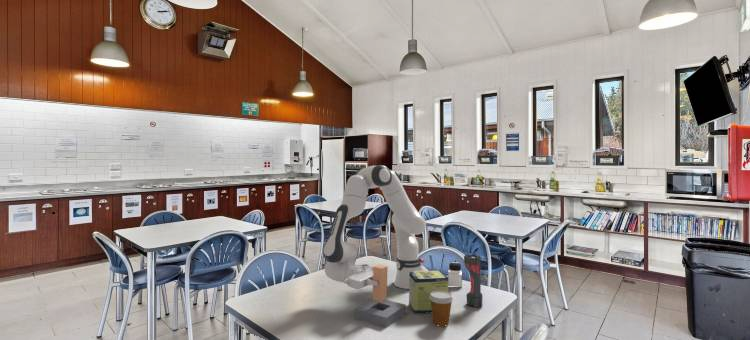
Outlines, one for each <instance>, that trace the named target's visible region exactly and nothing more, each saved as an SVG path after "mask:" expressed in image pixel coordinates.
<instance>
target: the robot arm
mask: <svg viewBox="0 0 750 340" xmlns="http://www.w3.org/2000/svg"><path fill="white" fill-rule="evenodd" d="M376 188H380V190H381V192H382V194H383V197H384V199H385V202H386V203H387V205H388V207H389V209H390V210H391V211H392V212H393V214H392V215H391V223H392V225H393V227H394V233H395V237H396V243H397V244H396V245H397V252H396V253H397V257H396V263H395V265H396V274H395V280H394V283H393V284H394V286H396V288H397V287H398V288H400V289H408V290H409V274H410V272H420V271H430V270H428V269H427V268H426V267H425V266H423V265H422V264H424V263H425V262H426V261H425V259H423V258H420V257H419V242H418V240H417V238H416V235H421V234H422V233H424V231H425V230H426V228H427V223H426V222H427V221H426V219H425V218H424V217H423V216H422V215H421V214H420V213H419V211H418V210H417V208H416V206H415V205H414V204H413V203H412V202H411V200H410V198H409V196H408V194H407V192H406V190H405V188H404V186H403V184H402V182H401V180H400V179H399V176H398V175H397V174H396V173H395V171H393V170H392V169H390V168H388V167H387V166H385V165H383V164H378V165H370V166H367V167H364V168H360V169H359V170H357V171H355V174H354V175H351V176H350V177H349V178H348V179H347V182H346V184H345V188H344V192H343V197H342V201H341V203H340V205H339V206H338V207H337V209H336V211H335V214H334V217H333V220H332V222H331V226H330V229H329V233H328V235H327V239H326V240H325V242H324V244H323V246H322V247H323V248H322V255H323V258H324V260H325V261H326V263H325V265H324V273H325V275H326V276H327V278H328V279H331V280H332V281H335V282H339V283H344V284H346V285H347V287H350V288H352V289H355V290H361V289H364V288H365V287H368V286H373V285H375V286H377V285H379V281H377V280H373V267H374V266H370V264H356V262H357V258H358V255H359V254H358V253H359V252H358V248H357V246H356V245H355V244H354V243H352V242H347V241H342V240H343V239H342V238H343V235H344V231H345V228H346V224H347V222H348V221H349V220H350V219H353V218H355V217H357V216H359V215H361V214H362V213H363V212H364V210H365V207H366V204H367V203H366V202H367V195H368V192H369V189H376Z"/></svg>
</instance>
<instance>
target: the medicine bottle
mask: <svg viewBox="0 0 750 340" xmlns="http://www.w3.org/2000/svg"><path fill="white" fill-rule="evenodd" d="M448 267H449V269H448V271H447V277H448V278H449V279H448V286H457V287H462V288H463V271H462V264H461V263H460V262H457V261H454V262H450V263H449V266H448Z"/></svg>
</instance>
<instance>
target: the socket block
mask: <svg viewBox="0 0 750 340" xmlns="http://www.w3.org/2000/svg"><path fill="white" fill-rule="evenodd" d="M353 313H354V314H353V315H354V319H357V320H360V321H364V322H365V323H371V324H373V325H377V326H380V327H383V328H385V329H386V328H389V327H390V326H392V325H393V324H394V323H395V322H397V321H398V320H400V319H401V318H402V317H404V316H405V315H406V314H407V304H404V303H401V302H397V301H393V300H389V299H385V300H383V301H382V302H380V301H376V300H373V299H372V298H371V299H369V300H367V301H366V302H363V303H362V304H360V305H358V306H356V307H355V308H354V311H353ZM403 315H404V316H403ZM399 318H400V319H399Z"/></svg>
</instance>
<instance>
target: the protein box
mask: <svg viewBox="0 0 750 340" xmlns="http://www.w3.org/2000/svg"><path fill="white" fill-rule="evenodd" d="M448 279H449V278H448V275H446V274H445V273H444V272H443V271H442V270H429V271H420V272H410V274H409V289H408V290H409V291H408V306H409V305H410V306H409V307H410V309H411V311H412V312H413V314H414V313H421V314H427V313H426V312H432V309H431V300H430V298H429V296H430V294H431V292H433V291H446V292H449V287H448Z"/></svg>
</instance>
